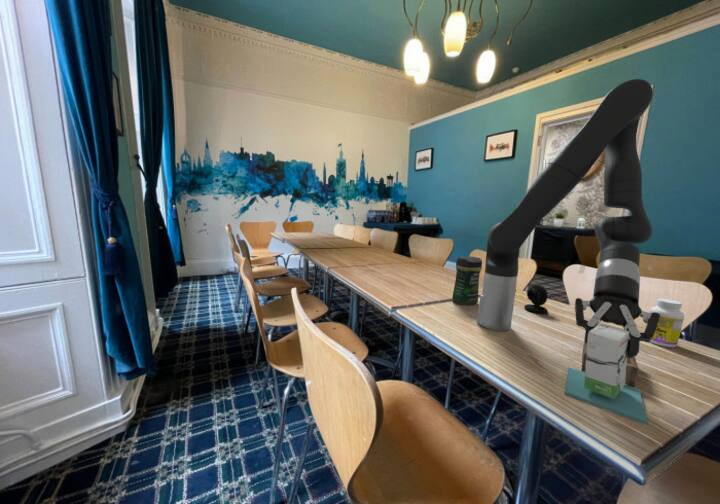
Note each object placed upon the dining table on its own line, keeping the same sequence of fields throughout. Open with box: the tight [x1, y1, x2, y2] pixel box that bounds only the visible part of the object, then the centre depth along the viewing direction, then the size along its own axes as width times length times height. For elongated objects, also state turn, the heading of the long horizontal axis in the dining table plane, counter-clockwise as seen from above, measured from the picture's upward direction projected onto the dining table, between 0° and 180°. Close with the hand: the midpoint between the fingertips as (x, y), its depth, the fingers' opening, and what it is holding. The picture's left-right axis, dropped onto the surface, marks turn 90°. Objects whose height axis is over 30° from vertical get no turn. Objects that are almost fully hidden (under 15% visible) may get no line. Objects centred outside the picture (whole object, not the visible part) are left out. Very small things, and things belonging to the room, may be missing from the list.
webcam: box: [523, 284, 549, 315], centre depth 104 cm, size 8×8×10 cm
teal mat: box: [563, 366, 649, 425], centre depth 58 cm, size 12×12×1 cm
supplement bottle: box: [649, 297, 685, 348], centre depth 81 cm, size 7×7×13 cm
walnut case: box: [581, 340, 639, 388], centre depth 67 cm, size 9×13×4 cm
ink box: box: [584, 323, 630, 399], centre depth 57 cm, size 9×5×12 cm, turn 126°
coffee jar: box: [451, 256, 483, 306], centre depth 110 cm, size 10×8×19 cm
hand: (609, 350), depth 57 cm, fingers closed on ink box, 5 cm apart
